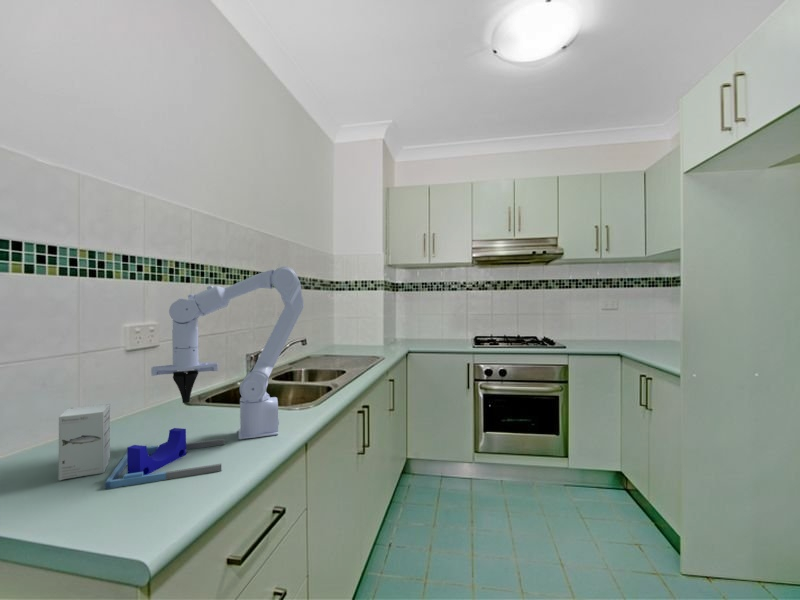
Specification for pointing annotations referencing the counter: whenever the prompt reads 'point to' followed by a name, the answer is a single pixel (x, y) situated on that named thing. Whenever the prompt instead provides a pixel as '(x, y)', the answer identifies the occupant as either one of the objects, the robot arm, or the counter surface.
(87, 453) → the supplement box
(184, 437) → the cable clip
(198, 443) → the blue grey open frame
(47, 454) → the counter surface
